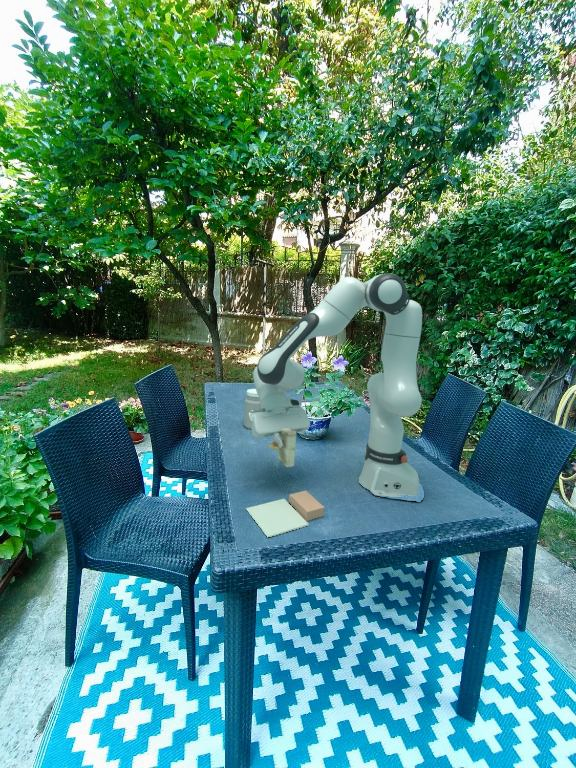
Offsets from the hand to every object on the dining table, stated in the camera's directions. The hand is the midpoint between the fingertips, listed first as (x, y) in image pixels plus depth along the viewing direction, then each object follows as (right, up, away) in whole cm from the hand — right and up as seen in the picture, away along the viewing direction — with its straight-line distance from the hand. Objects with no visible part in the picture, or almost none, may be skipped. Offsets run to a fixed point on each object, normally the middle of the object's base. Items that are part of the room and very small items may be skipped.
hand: (287, 446), depth 111 cm
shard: (-5, -8, +39) cm, 41 cm away
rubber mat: (-3, -19, -10) cm, 22 cm away
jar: (-17, -1, +60) cm, 62 cm away
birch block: (-1, -6, +2) cm, 6 cm away
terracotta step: (+5, -18, -5) cm, 20 cm away
